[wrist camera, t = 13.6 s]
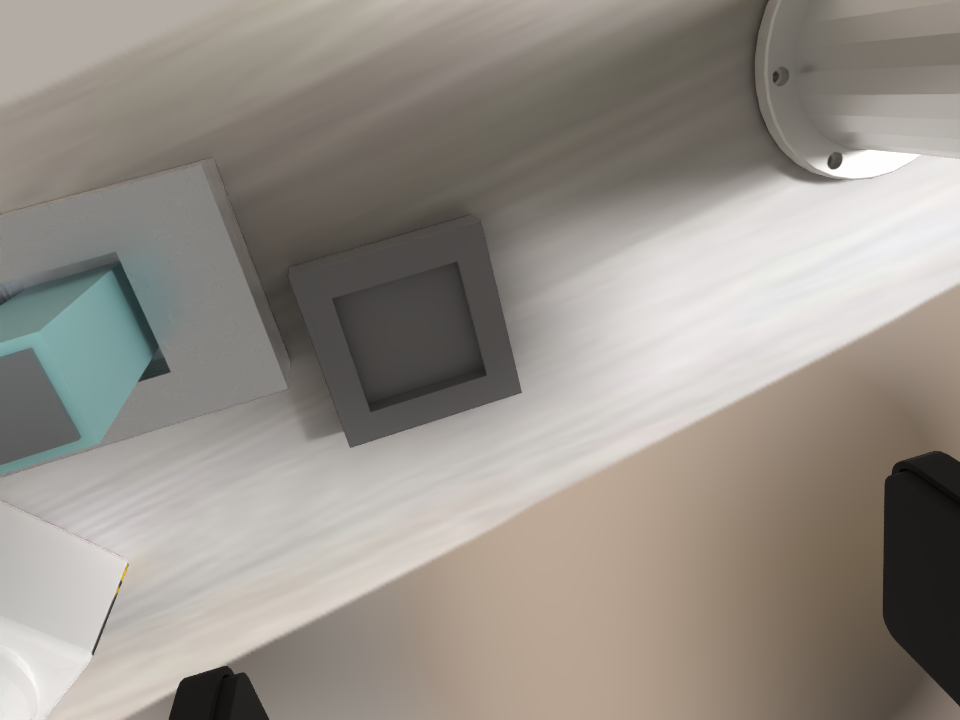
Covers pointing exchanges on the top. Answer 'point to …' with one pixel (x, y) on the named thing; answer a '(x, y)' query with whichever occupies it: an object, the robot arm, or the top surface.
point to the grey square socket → (407, 328)
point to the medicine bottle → (48, 610)
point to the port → (161, 289)
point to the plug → (68, 363)
